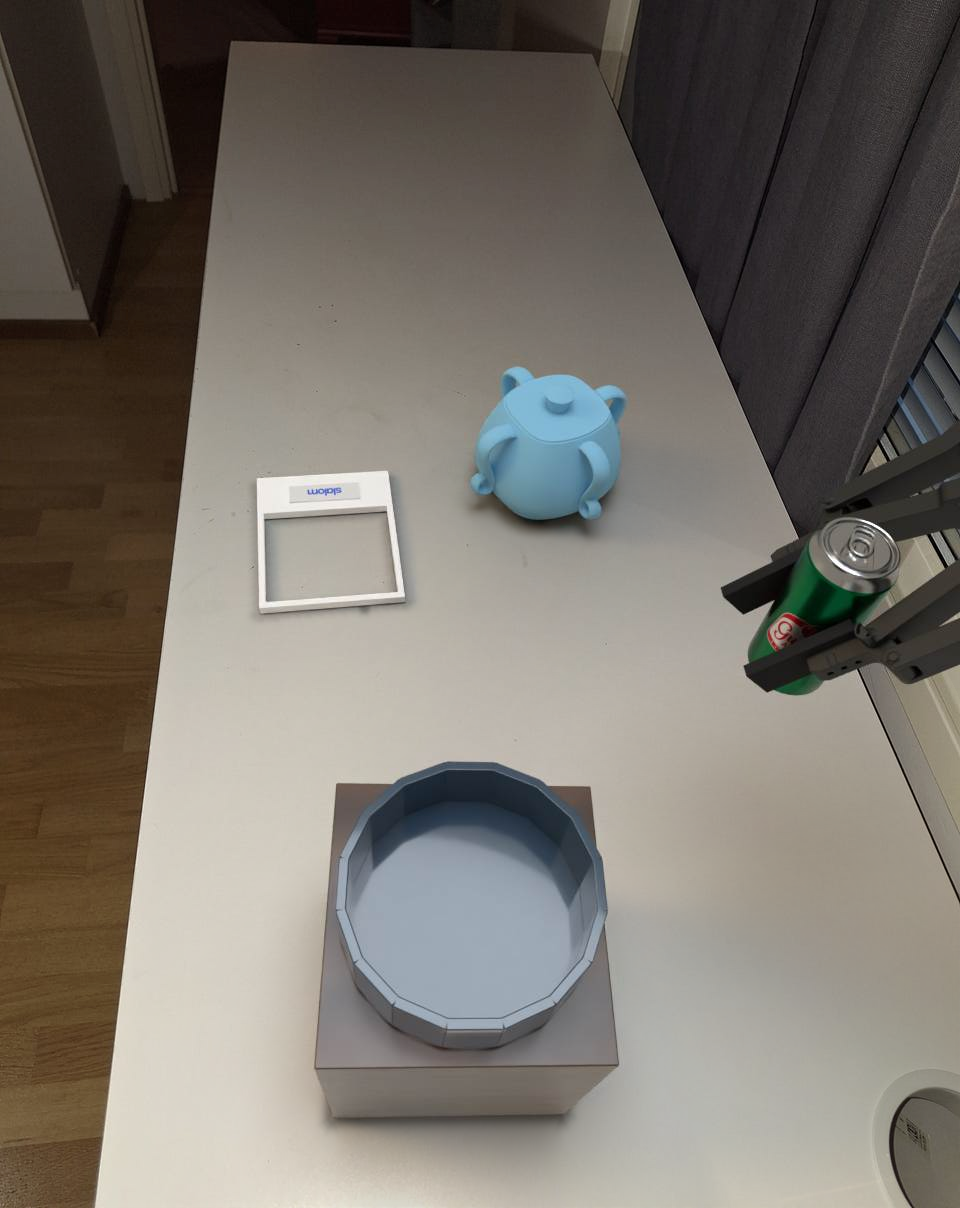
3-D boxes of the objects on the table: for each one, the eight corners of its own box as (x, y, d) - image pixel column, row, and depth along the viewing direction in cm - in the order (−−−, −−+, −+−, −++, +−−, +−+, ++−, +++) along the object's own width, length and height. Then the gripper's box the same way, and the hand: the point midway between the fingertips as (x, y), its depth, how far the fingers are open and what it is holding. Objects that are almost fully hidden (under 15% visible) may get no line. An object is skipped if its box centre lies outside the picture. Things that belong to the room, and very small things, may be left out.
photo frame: (387, 469, 103) (404, 595, 92) (387, 476, 103) (404, 601, 93) (256, 477, 100) (258, 607, 90) (257, 484, 101) (260, 613, 91)
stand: (564, 1114, 67) (619, 1065, 51) (333, 1117, 65) (313, 1069, 49) (549, 886, 77) (590, 785, 61) (348, 885, 75) (336, 782, 59)
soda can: (735, 680, 57) (804, 560, 48) (755, 623, 60) (825, 499, 51) (812, 713, 56) (899, 597, 47) (830, 653, 59) (915, 533, 50)
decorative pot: (589, 554, 99) (614, 466, 88) (453, 509, 101) (461, 418, 90) (626, 459, 109) (653, 368, 98) (500, 419, 111) (513, 327, 100)
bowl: (602, 1048, 51) (620, 1028, 47) (331, 1051, 50) (326, 1031, 46) (578, 798, 60) (592, 763, 56) (348, 795, 59) (345, 759, 55)
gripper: (1293, 625, 41) (811, 793, 52) (1101, 366, 52) (736, 552, 63) (1280, 550, 36) (752, 753, 47) (1071, 282, 47) (681, 500, 58)
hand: (743, 638), depth 55 cm, fingers closed on soda can, 5 cm apart
